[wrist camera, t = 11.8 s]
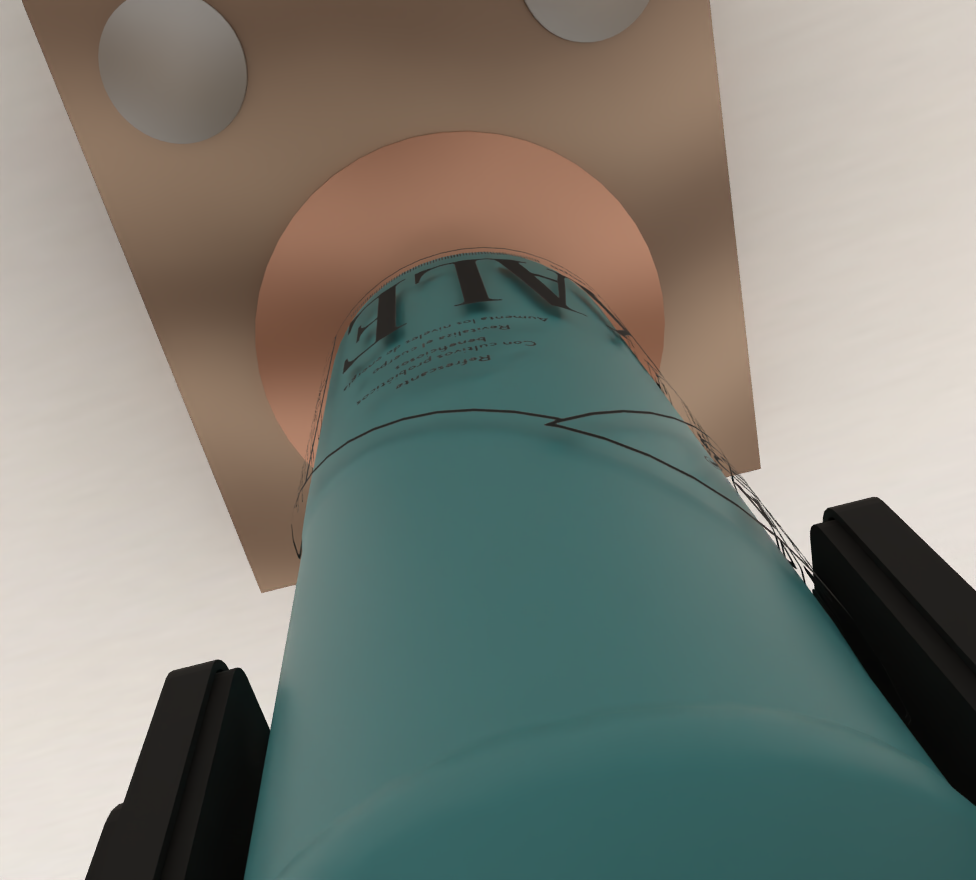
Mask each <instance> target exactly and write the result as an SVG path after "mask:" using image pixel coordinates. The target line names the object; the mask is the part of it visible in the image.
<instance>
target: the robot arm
mask: <svg viewBox="0 0 976 880" xmlns="http://www.w3.org/2000/svg"><path fill="white" fill-rule="evenodd" d="M810 541H811V553H812V564H813V569H814V570H813V571H815V572H816V573H815V574H817V575H818V577H819V578H820V579H821V581H822V582H823V583H824V584H825V585H826V587H827V588H828V589H829V590H830V591H831V592H830V591H829V590H828V589H827V588H826V587H825V585H824V584H823V585H824V586H823V585H822V584H821V583H820V581H819V580H818V579H817V577H816V576H815V575H814V573H813V576H814V578H815V579H816V580H817V581H818V582H819V583H820V584H821V586H822V587H823V588H824V589H825V590H826V591H827V592H828V594H829V595H830V597H831V599H832V601H831V600H830V599H829V597H828V596H827V595H826V594H825V593H824V592H823V590H822V589H821V588H820V587H819V586H818V585H817V586H818V587H819V589H820V590H821V591H822V593H823V594H824V596H825V597H826V599H827V600H828V602H829V603H830V605H831V606H832V607H833V609H834V610H835V612H836V613H837V615H838V617H839V619H840V621H839V619H838V618H837V616H836V615H835V613H834V612H833V610H832V609H831V607H830V606H829V604H828V603H827V602H826V600H825V599H824V597H823V596H822V594H821V593H820V591H819V590H818V588H817V587H816V586H815V584H814V588H815V591H816V592H817V593H818V595H819V596H820V597H821V599H822V600H823V602H824V603H825V605H826V607H827V608H828V609H829V610H830V611H831V612H832V613H833V615H834V616H835V618H836V619H837V621H838V622H839V624H840V626H841V629H842V631H843V634H842V633H841V632H840V633H841V634H842V636H843V635H844V636H843V637H844V639H845V640H846V642H847V643H848V645H849V646H850V648H851V649H852V651H853V652H854V654H855V655H856V657H857V658H858V660H859V661H860V663H861V664H862V666H863V667H864V669H865V670H866V672H867V673H868V675H869V677H870V678H871V679H872V681H873V682H874V684H875V685H876V686H877V688H878V689H879V690H880V692H881V693H882V694H883V696H884V697H885V698H886V700H887V701H888V702H889V704H890V705H891V706H892V708H893V709H894V710H895V712H896V713H897V714H898V716H899V717H900V718H901V720H902V721H903V722H904V724H905V725H906V726H907V728H908V729H909V730H910V732H911V733H912V734H913V736H914V737H915V738H916V740H917V741H918V742H919V744H920V745H921V746H922V748H923V749H924V751H925V752H926V753H927V755H928V756H929V757H930V759H931V760H932V761H933V763H934V764H935V765H936V767H937V768H938V769H939V771H940V772H941V773H942V775H943V776H944V777H945V779H946V780H947V781H948V783H949V784H950V785H951V786H952V787H953V788H954V789H955V790H956V791H957V792H959V793H960V794H961V795H962V796H964V797H965V798H966V799H967V800H969V801H970V802H971V803H972V804H973V805H975V806H976V591H975V590H974V589H973V588H972V587H971V586H970V585H969V584H968V583H967V582H966V581H965V580H964V579H963V578H962V577H961V576H960V575H959V574H958V573H957V572H956V571H955V570H953V569H952V568H951V567H950V566H949V565H948V564H947V563H946V562H945V561H944V560H943V559H942V558H941V557H940V556H939V555H938V554H937V553H936V552H935V551H934V550H933V549H932V548H931V547H930V546H929V545H928V544H927V543H926V542H925V541H924V540H923V539H921V538H920V537H919V536H918V535H917V534H916V533H915V532H914V531H913V530H912V529H911V528H910V527H909V526H908V525H907V524H906V523H905V522H904V521H903V520H902V519H901V518H900V517H899V516H898V515H897V514H896V513H895V512H894V511H893V510H892V509H891V508H889V507H888V506H887V505H886V504H885V503H884V502H883V501H882V500H880V499H879V498H878V497H871V498H867V499H863V500H859V501H855V502H851V503H847V504H843V505H838V506H834V507H830V508H827V509H826V510H825V511H824V515H823V523H819V524H815V525H813V526H812V527H811V530H810ZM831 593H832V594H833V595H834V596H835V597H836V598H835V597H834V596H833V595H832V594H831ZM836 599H837V600H838V601H839V602H840V603H841V604H840V603H839V602H838V601H837V600H836ZM817 600H818V598H817ZM818 602H819V603H820V605H821V606H822V607H823V609H824V610H825V611H826V609H825V608H824V606H823V605H822V604H821V602H820V601H819V600H818ZM841 605H842V606H843V607H844V608H845V609H846V610H845V609H844V608H843V607H842V606H841ZM846 611H847V612H848V613H849V614H850V615H849V614H848V613H847V612H846ZM826 613H827V612H826ZM851 617H852V618H851ZM831 619H832V621H833V622H834V624H835V625H836V627H837V628H838V626H837V624H836V622H835V621H834V620H833V618H832V617H831ZM853 620H854V621H853ZM855 623H856V624H855ZM857 626H858V627H857ZM859 629H860V630H859ZM838 630H839V628H838ZM839 631H840V630H839ZM861 632H862V633H861ZM863 635H864V636H863ZM865 638H866V639H865ZM867 641H868V642H867ZM869 644H870V645H869ZM871 647H872V648H871ZM873 650H874V651H873ZM875 653H876V654H875ZM877 656H878V657H877ZM882 664H883V665H882ZM883 666H884V667H885V668H884V667H883ZM885 669H886V670H885ZM886 671H887V672H886ZM887 673H888V674H889V676H890V678H891V680H892V682H893V684H894V686H895V688H896V690H897V692H898V694H899V696H900V697H899V696H898V694H897V692H896V690H895V688H894V686H893V684H892V682H891V680H890V678H889V676H888V674H887ZM900 698H901V699H900ZM901 700H902V701H901ZM902 702H903V703H902ZM903 704H904V705H903ZM904 706H905V707H904ZM905 708H906V709H907V711H908V713H909V716H910V718H911V722H910V723H909V724H908V722H907V720H906V718H905V717H906V715H907V712H906V709H905ZM269 735H270V729H269V727H268V724H267V722H266V720H265V717H264V715H263V713H262V710H261V708H260V706H259V704H258V701H257V699H256V697H255V694H254V692H253V690H252V688H251V685H250V683H249V681H248V678H247V676H246V674H245V673H244V671H243V670H242V669H241V668H234V669H230V670H229V669H228V667H227V665H226V664H225V663H224V662H223V661H222V660H214V661H210V662H206V663H202V664H198V665H194V666H190V667H186V668H181V669H177V670H173V671H172V672H170V673H169V674H168V676H167V678H166V680H165V683H164V686H163V689H162V691H161V694H160V697H159V700H158V703H157V706H156V709H155V712H154V715H153V718H152V721H151V724H150V727H149V729H148V732H147V735H146V738H145V741H144V744H143V747H142V750H141V753H140V756H139V759H138V762H137V764H136V767H135V770H134V773H133V776H132V779H131V782H130V785H129V788H128V791H127V794H126V797H125V800H124V802H123V803H122V804H119V805H118V806H116V807H115V808H114V809H113V810H112V811H111V813H110V815H109V817H108V818H107V820H106V822H105V825H104V828H103V830H102V833H101V836H100V839H99V842H98V844H97V847H96V850H95V853H94V856H93V858H92V861H91V864H90V867H89V870H88V872H87V875H86V878H85V880H244V875H245V869H246V864H247V858H248V853H249V847H250V841H251V836H252V830H253V825H254V819H255V813H256V808H257V802H258V797H259V791H260V785H261V780H262V774H263V769H264V763H265V757H266V752H267V746H268V741H269Z"/></svg>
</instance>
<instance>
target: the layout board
mask: <svg viewBox="0 0 976 880" xmlns="http://www.w3.org/2000/svg"><path fill="white" fill-rule="evenodd" d="M22 2H23V5H24V7H25V10H26V12H27V15H28V17H29V20H30V22H31V25H32V27H33V30H34V32H35V35H36V37H37V39H38V42H39V44H40V47H41V49H42V52H43V54H44V57H45V59H46V62H47V64H48V67H49V69H50V72H51V74H52V77H53V79H54V81H55V84H56V86H57V89H58V91H59V94H60V96H61V99H62V101H63V104H64V106H65V109H66V111H67V114H68V116H69V119H70V121H71V123H72V126H73V128H74V131H75V133H76V136H77V138H78V141H79V143H80V146H81V148H82V151H83V153H84V156H85V158H86V161H87V163H88V166H89V168H90V170H91V173H92V175H93V178H94V180H95V183H96V185H97V188H98V190H99V193H100V195H101V198H102V200H103V203H104V205H105V208H106V210H107V212H108V215H109V217H110V220H111V222H112V225H113V227H114V230H115V232H116V235H117V237H118V240H119V242H120V245H121V247H122V250H123V252H124V255H125V257H126V259H127V262H128V264H129V267H130V269H131V272H132V274H133V277H134V279H135V282H136V284H137V287H138V289H139V292H140V294H141V297H142V299H143V301H144V304H145V306H146V309H147V311H148V314H149V316H150V319H151V321H152V324H153V326H154V329H155V331H156V334H157V336H158V339H159V341H160V343H161V346H162V348H163V351H164V353H165V356H166V358H167V361H168V363H169V366H170V368H171V371H172V373H173V376H174V378H175V381H176V383H177V386H178V388H179V390H180V393H181V395H182V398H183V400H184V403H185V405H186V408H187V410H188V413H189V415H190V418H191V420H192V423H193V425H194V428H195V430H196V432H197V435H198V437H199V440H200V442H201V445H202V447H203V450H204V452H205V455H206V457H207V460H208V462H209V465H210V467H211V470H212V472H213V475H214V477H215V479H216V482H217V484H218V487H219V489H220V492H221V494H222V497H223V499H224V502H225V504H226V507H227V509H228V512H229V514H230V517H231V519H232V521H233V524H234V526H235V529H236V531H237V534H238V536H239V539H240V541H241V544H242V546H243V549H244V551H245V554H246V556H247V559H248V561H249V564H250V566H251V568H252V571H253V573H254V576H255V578H256V581H257V583H258V586H259V588H260V591H261V593H264V592H268V591H272V590H276V589H280V588H284V587H288V586H292V585H296V584H297V578H298V573H299V567H300V562H301V558H300V559H299V558H298V556H297V553H296V550H295V547H294V544H293V539H294V542H295V545H296V548H297V551H298V554H299V553H300V547H301V541H302V531H303V524H304V517H305V511H306V504H307V499H308V494H309V488H310V483H311V478H312V475H311V476H310V474H311V472H312V468H314V463H315V458H316V452H317V447H318V442H319V440H318V437H319V436H320V430H321V415H322V421H323V416H324V410H325V405H326V400H327V394H328V389H329V384H330V378H331V374H332V369H333V364H334V360H335V357H336V354H337V351H338V349H339V346H340V343H341V341H342V339H343V337H344V335H345V333H346V331H347V329H348V327H349V325H350V323H351V322H352V320H353V319H354V318H355V316H356V315H357V313H358V312H359V310H360V309H361V308H362V307H363V306H364V305H365V303H366V302H367V301H368V300H369V297H370V295H371V297H372V293H373V295H374V292H375V293H376V290H377V292H378V291H379V288H380V289H381V286H382V287H383V285H384V284H385V285H386V282H387V283H388V282H389V281H391V279H392V280H393V279H394V277H395V278H396V276H397V277H398V276H399V274H400V275H401V274H402V272H403V273H404V272H406V271H407V270H410V269H412V268H413V267H415V266H418V265H421V264H423V263H426V262H429V261H432V260H435V259H438V258H441V257H445V256H450V255H456V254H461V253H471V252H473V253H474V252H484V251H485V252H491V253H493V252H494V253H496V252H497V253H499V252H500V253H502V252H503V253H504V254H505V253H506V254H508V253H509V254H510V255H511V254H512V255H514V254H515V255H516V256H517V255H518V256H519V257H520V255H521V256H522V258H524V257H525V259H527V258H528V260H530V259H531V260H532V258H533V260H534V261H535V259H536V261H537V260H538V261H539V262H540V264H542V265H544V266H546V267H548V268H551V269H553V270H555V271H557V272H558V273H560V274H562V275H563V276H566V277H568V278H570V279H572V280H573V282H574V281H575V282H577V283H578V284H580V285H582V286H583V287H585V288H586V289H588V290H589V291H591V292H592V293H593V294H594V295H596V296H597V297H598V298H597V297H596V296H595V297H596V298H597V299H598V300H599V301H600V302H601V303H602V304H603V305H604V306H605V307H606V308H607V309H608V310H609V311H610V312H611V313H612V314H613V315H614V317H615V318H616V319H617V320H618V321H619V322H620V321H621V322H622V323H623V324H622V323H621V322H620V323H621V324H622V325H624V326H625V327H626V328H627V330H628V331H629V332H630V334H631V335H632V336H633V337H634V339H635V340H636V341H637V343H638V344H639V345H640V346H641V348H642V349H643V350H644V352H645V353H646V354H647V355H648V357H649V358H650V359H651V361H652V362H653V363H654V364H655V366H656V367H657V368H658V370H659V371H660V372H661V373H660V372H659V371H658V370H657V368H656V367H655V366H654V364H653V363H652V362H651V361H650V359H649V358H648V357H647V355H646V354H645V353H644V352H643V350H642V349H641V348H640V346H639V345H638V344H637V343H636V341H635V340H634V339H633V337H632V336H629V335H627V337H626V338H628V339H626V338H625V337H623V336H622V335H621V337H622V338H623V339H624V341H625V342H626V344H627V345H628V346H629V344H630V346H629V348H630V347H631V350H632V352H633V353H634V351H635V353H634V354H635V355H637V358H638V360H639V361H640V362H641V364H642V365H643V366H644V368H645V369H646V370H647V372H648V373H649V374H650V376H651V375H652V376H651V377H653V380H654V381H655V383H656V381H657V383H658V384H659V383H660V386H662V387H661V391H662V388H663V391H664V393H665V396H666V397H667V399H668V400H669V401H670V399H671V401H670V403H671V402H672V405H673V407H674V408H675V409H676V411H677V412H678V414H679V415H680V416H681V418H682V419H683V420H684V422H687V423H689V424H691V425H693V426H694V425H696V427H697V428H698V427H699V426H700V425H701V426H700V427H699V428H701V427H702V428H701V430H702V429H703V430H704V431H703V430H702V432H705V434H707V435H708V436H709V437H710V438H711V439H712V440H713V441H714V442H715V443H716V444H715V443H714V442H713V441H712V440H711V439H710V438H709V437H708V436H707V437H708V438H707V437H706V436H705V434H703V433H702V432H700V431H699V430H700V429H699V428H698V429H699V430H696V428H694V427H692V426H689V425H687V426H688V427H689V428H690V430H691V431H692V432H694V433H693V434H694V435H695V436H696V438H697V439H698V440H699V442H700V443H701V444H703V443H702V442H701V440H700V439H701V438H702V439H704V438H703V437H705V439H706V438H707V439H709V440H707V439H706V441H707V442H708V441H709V442H710V443H711V445H712V446H713V447H714V448H715V449H714V448H713V447H712V446H711V445H709V444H710V443H709V444H708V443H706V442H705V443H706V444H707V446H708V448H709V449H710V450H711V448H712V449H713V450H714V451H713V450H712V451H713V452H715V454H716V455H717V456H718V457H719V458H720V459H721V460H722V461H723V462H724V463H723V462H722V461H721V460H719V462H720V463H721V464H722V466H723V467H725V468H726V469H727V470H728V471H729V472H730V469H729V465H730V464H729V465H727V464H728V462H729V463H731V464H732V466H733V467H732V466H731V465H730V467H732V468H733V469H734V470H735V471H736V470H737V471H738V472H737V471H736V472H737V473H739V474H741V473H745V472H749V471H753V470H757V469H761V467H760V457H759V448H758V439H757V430H756V421H755V412H754V403H753V394H752V384H751V375H750V366H749V357H748V348H747V339H746V330H745V321H744V311H743V302H742V293H741V284H740V275H739V266H738V257H737V248H736V238H735V229H734V220H733V211H732V202H731V193H730V184H729V175H728V166H727V156H726V147H725V138H724V129H723V120H722V111H721V102H720V93H719V83H718V74H717V65H716V56H715V47H714V38H713V29H712V20H711V10H710V1H709V0H22ZM477 247H491V248H477ZM464 248H474V249H464ZM495 248H505V249H495ZM457 249H461V250H457ZM507 249H511V250H507ZM452 250H456V251H452ZM512 250H516V251H512ZM447 251H451V252H447ZM517 251H521V252H517ZM442 252H446V253H442ZM523 252H526V253H523ZM438 253H441V254H438ZM527 253H529V254H527ZM435 254H438V255H435ZM509 254H508V255H509ZM530 254H532V255H530ZM432 255H435V256H432ZM533 255H535V256H533ZM429 256H432V257H429ZM523 256H524V257H523ZM526 256H527V258H526ZM536 256H538V257H536ZM426 257H429V258H426ZM529 257H530V259H529ZM539 257H541V258H539ZM423 258H426V259H423ZM542 258H544V259H542ZM420 259H423V260H420ZM545 259H546V260H545ZM418 260H420V261H418ZM533 260H532V261H533ZM547 260H548V261H547ZM416 261H418V262H416ZM536 261H535V262H536ZM538 261H537V262H538ZM549 261H551V262H553V263H551V262H549ZM414 262H416V263H414ZM539 262H538V263H539ZM412 263H413V264H412ZM554 263H555V264H554ZM409 264H411V265H409ZM556 264H557V265H556ZM407 265H409V266H407ZM551 265H552V266H553V267H555V268H557V269H558V270H557V269H555V268H553V267H551ZM558 265H559V266H558ZM405 266H407V267H405ZM560 266H561V267H560ZM403 267H405V268H403ZM562 267H563V268H562ZM401 268H403V269H401ZM564 268H565V269H564ZM399 269H401V270H399ZM559 269H561V270H563V272H562V271H560V270H559ZM566 269H567V270H568V271H567V270H566ZM398 270H399V271H398ZM396 271H398V272H396ZM564 271H565V272H567V273H568V274H566V273H564ZM569 271H570V272H569ZM395 272H396V273H395ZM393 273H394V274H393ZM572 273H573V274H572ZM392 274H393V275H392ZM569 274H570V275H572V277H571V276H570V275H569ZM574 274H575V275H576V276H575V275H574ZM390 275H391V276H390ZM388 276H390V277H388ZM577 276H578V277H577ZM387 277H388V278H387ZM574 277H575V278H576V279H577V280H576V279H574ZM385 278H387V279H385ZM580 278H581V279H580ZM384 279H385V280H384ZM382 280H383V281H382ZM572 280H571V281H572ZM578 280H580V281H578ZM381 281H382V282H381ZM581 281H582V283H581ZM380 282H381V283H380ZM575 282H574V283H575ZM379 283H380V284H379ZM586 283H587V284H588V285H587V284H586ZM378 284H379V285H378ZM575 284H576V283H575ZM584 284H585V285H584ZM376 285H377V286H376ZM576 285H577V284H576ZM375 286H376V287H375ZM578 286H579V285H578ZM374 287H375V288H374ZM579 287H580V286H579ZM373 288H374V289H373ZM580 288H581V287H580ZM589 288H590V289H589ZM592 288H593V289H594V290H593V289H592ZM372 289H373V290H372ZM581 289H582V288H581ZM591 289H592V290H591ZM370 290H371V291H370ZM582 290H583V289H582ZM369 291H370V292H369ZM368 292H369V293H368ZM367 293H368V294H367ZM366 294H367V295H366ZM587 294H588V293H587ZM365 295H366V296H365ZM588 295H589V294H588ZM598 295H600V296H601V298H600V297H599V296H598ZM364 296H365V297H364ZM589 296H590V295H589ZM363 297H364V298H363ZM590 297H591V296H590ZM362 298H363V299H362ZM367 298H368V300H367ZM591 298H592V297H591ZM361 299H362V300H361ZM365 299H366V302H365ZM592 299H593V298H592ZM360 300H361V301H360ZM359 301H360V302H359ZM593 301H594V302H595V303H596V304H597V305H598V306H599V307H600V308H601V310H602V311H603V313H604V314H605V315H606V317H607V318H608V319H609V321H610V322H611V323H612V325H613V326H614V327H615V329H616V330H624V329H622V327H621V326H620V325H619V324H618V323H617V322H616V321H615V320H614V319H613V318H612V317H611V316H610V315H609V314H608V313H607V312H606V310H605V309H604V308H603V307H602V306H601V305H600V304H598V303H597V302H596V301H595V300H594V299H593ZM358 302H359V303H358ZM363 302H364V304H363ZM361 304H362V306H361ZM355 306H356V307H355ZM359 306H360V308H359ZM354 307H355V308H354ZM609 307H610V308H609ZM353 308H354V309H353ZM357 308H358V311H357ZM352 309H353V310H352ZM610 309H611V310H610ZM351 310H352V311H351ZM355 310H356V313H355ZM350 312H351V313H350ZM353 312H354V315H353ZM349 313H350V314H349ZM615 314H616V315H615ZM348 315H349V316H348ZM351 315H352V317H351ZM347 316H348V317H347ZM616 316H617V317H618V318H619V319H620V320H619V319H618V318H617V317H616ZM345 319H346V320H345ZM343 322H344V323H343ZM342 323H343V324H342ZM341 325H342V326H341ZM625 327H624V328H625ZM336 335H337V336H336ZM628 336H629V337H628ZM335 337H336V341H335V339H334V338H335ZM333 340H334V341H335V346H334V341H333ZM629 340H631V342H632V343H633V344H631V342H630V341H629ZM628 341H629V343H628ZM332 342H333V343H332ZM632 345H633V346H634V347H633V346H632ZM333 346H334V351H333ZM332 351H333V356H332V354H331V353H332ZM330 355H331V356H332V360H331V356H330ZM327 356H328V357H327ZM329 357H330V358H329ZM326 359H327V360H326ZM328 359H329V360H328ZM330 360H331V365H330ZM645 360H646V361H648V362H649V364H650V365H651V366H652V367H654V368H655V369H656V370H657V371H658V372H659V373H660V374H662V375H663V376H661V375H660V374H659V373H658V372H656V370H655V369H653V370H654V371H653V370H652V367H651V366H648V364H647V362H646V361H645ZM325 362H326V363H325ZM326 365H327V366H326ZM329 365H330V370H329ZM324 368H326V369H324ZM649 368H650V369H649ZM328 370H329V375H328ZM324 371H325V372H324ZM650 371H651V373H650ZM655 372H656V373H657V375H658V376H660V377H661V378H663V377H664V378H665V379H666V380H665V379H664V378H663V379H664V380H665V381H664V380H663V379H661V378H660V377H659V378H660V379H659V378H657V376H656V374H655ZM323 374H324V375H323ZM327 375H328V380H327V384H326V382H325V381H326V379H327ZM655 378H656V380H655ZM324 379H325V380H324ZM658 379H659V382H658ZM660 380H661V381H660ZM666 381H667V382H666ZM321 382H322V385H321ZM324 383H325V384H326V389H325V384H324ZM661 383H663V384H664V387H663V384H661ZM668 384H670V385H668ZM323 385H324V386H323ZM671 386H672V387H671ZM320 387H321V388H320ZM322 387H323V388H322ZM665 387H666V388H665ZM664 388H665V390H666V389H667V390H666V391H667V394H666V392H665V390H664ZM672 388H673V389H672ZM324 389H325V394H324ZM321 390H322V391H321ZM319 391H321V392H319ZM663 391H662V392H663ZM674 391H676V392H674ZM319 393H321V394H320V396H321V398H320V397H319V396H318V394H319ZM668 393H669V394H668ZM323 394H324V399H323V403H322V398H323ZM676 394H678V395H676ZM669 395H670V397H669ZM318 397H319V398H320V399H319V398H318ZM679 397H680V398H681V399H680V398H679ZM318 399H319V400H318ZM317 400H318V401H317ZM320 401H321V403H322V408H321V405H320ZM682 401H683V402H682ZM317 402H318V403H317ZM681 402H682V403H681ZM683 403H685V404H686V405H685V406H687V408H686V407H685V406H684V404H683ZM316 404H317V406H316ZM682 404H683V405H682ZM318 406H319V407H318ZM683 406H684V407H683ZM316 407H318V409H315V408H316ZM320 408H321V413H320ZM687 409H688V410H687ZM315 410H316V411H317V412H315ZM689 410H690V411H689ZM688 412H689V413H688ZM690 412H691V413H690ZM315 413H316V416H314V415H315ZM319 413H320V418H319V423H318V428H317V432H316V437H315V442H314V446H313V451H312V456H311V457H312V462H311V461H310V466H309V470H308V477H309V476H310V478H309V479H308V477H307V479H308V481H307V483H306V484H305V486H304V487H303V486H302V484H303V485H304V483H305V480H306V474H307V469H308V465H307V464H309V460H310V455H311V453H310V449H311V450H312V443H313V441H314V436H315V431H316V427H317V422H318V417H319ZM686 413H687V414H686ZM689 414H690V415H691V414H692V417H694V418H693V419H691V418H692V417H691V416H690V415H689ZM687 415H688V416H687ZM688 417H689V418H688ZM314 418H315V421H314V420H313V419H314ZM695 418H696V419H695ZM692 420H693V421H694V422H695V424H694V422H693V421H692ZM696 421H697V422H696ZM690 422H691V423H690ZM697 423H698V425H699V424H700V425H699V426H698V425H697ZM311 426H312V427H311ZM314 427H315V430H314ZM692 428H693V430H692ZM311 429H312V432H313V433H314V435H313V438H312V432H311ZM310 432H311V433H310ZM697 432H699V433H700V434H699V433H697ZM698 434H699V435H701V438H700V437H699V436H698ZM702 434H703V435H704V436H703V435H702ZM702 436H703V437H702ZM310 437H311V438H310ZM309 438H310V439H309ZM705 439H704V440H705ZM309 440H310V441H309ZM308 441H309V442H308ZM307 445H308V452H307ZM703 445H704V444H703ZM710 446H711V447H710ZM708 448H707V449H706V446H705V445H704V449H705V450H706V451H707V450H708V451H709V449H708ZM716 449H717V450H718V451H719V452H720V453H721V454H722V455H721V454H720V453H719V452H718V451H717V450H716ZM721 450H722V451H721ZM708 451H707V453H708ZM313 452H314V462H313ZM722 452H723V453H722ZM709 453H711V456H710V457H711V458H712V459H713V461H714V462H715V461H716V460H715V458H714V456H713V455H715V454H713V453H712V452H711V451H709ZM709 453H708V454H709ZM307 454H308V456H307ZM723 454H724V455H725V457H726V458H725V457H724V455H723ZM305 455H306V456H305ZM709 455H710V454H709ZM720 456H721V457H723V458H724V459H725V460H726V459H727V460H726V461H728V462H726V461H724V460H723V459H722V458H721V457H720ZM305 458H306V460H305ZM307 458H308V461H307ZM304 461H305V462H304ZM307 462H308V463H307ZM725 462H726V463H727V464H726V463H725ZM305 463H306V465H305ZM716 463H718V462H717V461H716ZM718 465H719V466H720V467H721V468H722V470H723V471H722V473H723V474H724V475H725V477H729V476H731V474H730V473H729V472H728V471H726V470H725V469H724V468H723V467H722V466H721V465H720V464H719V463H718ZM305 466H306V468H305ZM720 467H719V468H720ZM302 468H303V469H302ZM721 468H720V470H721ZM732 468H731V470H732V471H734V470H733V469H732ZM302 471H303V472H302ZM735 471H734V472H735ZM301 472H302V473H303V478H302V473H301ZM736 472H735V473H736ZM737 473H736V474H737ZM736 474H735V475H736ZM732 475H734V474H733V472H732ZM300 478H301V480H300ZM302 480H303V482H302ZM299 484H300V485H299ZM302 487H303V492H302V490H301V488H302ZM298 488H299V490H301V492H300V491H299V490H298ZM298 493H300V494H298ZM297 494H298V495H299V498H298V496H297ZM302 494H303V496H302ZM297 498H298V500H297ZM296 500H297V502H296ZM302 500H303V502H302ZM295 503H296V505H297V506H296V505H295ZM294 506H295V508H294ZM291 526H292V527H291ZM292 529H293V536H292ZM301 556H302V552H301Z"/></svg>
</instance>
